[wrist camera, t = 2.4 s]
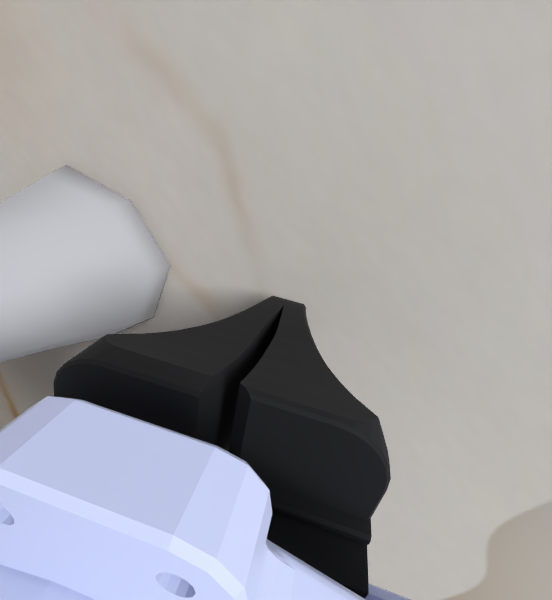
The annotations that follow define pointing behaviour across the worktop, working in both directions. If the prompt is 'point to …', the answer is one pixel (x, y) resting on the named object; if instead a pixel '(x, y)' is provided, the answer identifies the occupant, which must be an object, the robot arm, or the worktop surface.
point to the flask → (73, 265)
